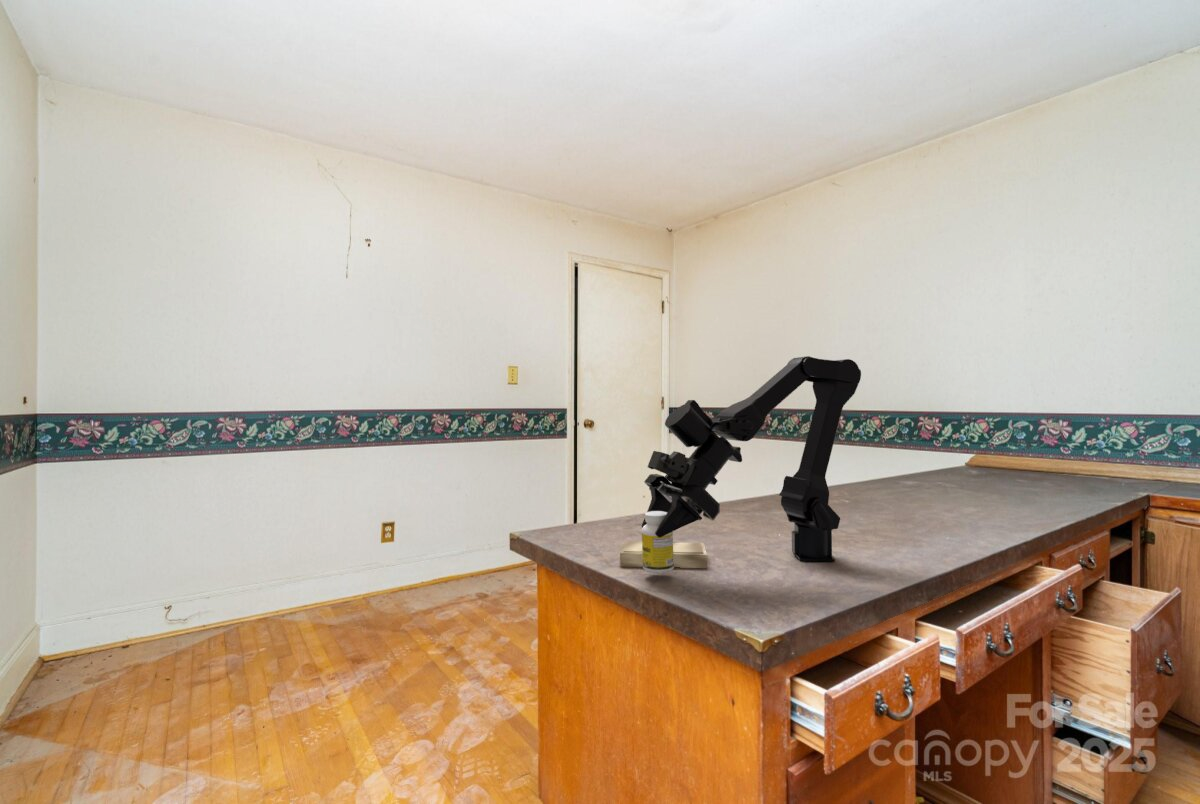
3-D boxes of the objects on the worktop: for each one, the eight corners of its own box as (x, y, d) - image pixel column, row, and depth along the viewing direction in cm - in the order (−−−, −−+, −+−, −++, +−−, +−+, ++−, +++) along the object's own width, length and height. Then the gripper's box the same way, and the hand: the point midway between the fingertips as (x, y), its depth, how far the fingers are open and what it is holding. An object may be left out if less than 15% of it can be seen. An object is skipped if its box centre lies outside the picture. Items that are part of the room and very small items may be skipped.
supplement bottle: (640, 565, 97) (638, 510, 97) (670, 563, 97) (668, 509, 97) (645, 574, 92) (643, 517, 92) (677, 573, 92) (675, 515, 92)
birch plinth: (703, 555, 107) (703, 542, 107) (707, 568, 99) (706, 553, 99) (623, 554, 109) (623, 540, 109) (620, 566, 101) (620, 552, 101)
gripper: (652, 431, 104) (600, 493, 101) (701, 437, 87) (640, 512, 83) (689, 469, 107) (640, 531, 104) (744, 482, 90) (687, 557, 86)
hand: (650, 532), depth 94 cm, fingers closed on supplement bottle, 5 cm apart
